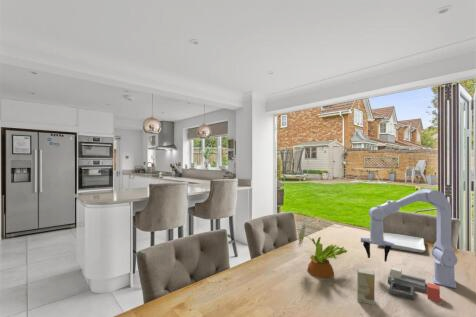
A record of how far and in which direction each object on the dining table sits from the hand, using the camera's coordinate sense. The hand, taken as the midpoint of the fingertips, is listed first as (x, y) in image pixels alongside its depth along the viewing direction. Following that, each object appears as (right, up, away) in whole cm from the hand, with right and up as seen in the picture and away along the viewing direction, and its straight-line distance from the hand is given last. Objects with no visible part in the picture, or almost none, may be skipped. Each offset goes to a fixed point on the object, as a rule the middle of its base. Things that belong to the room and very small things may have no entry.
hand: (377, 259), depth 124 cm
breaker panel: (+10, -8, -7) cm, 15 cm away
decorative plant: (-26, -9, +4) cm, 28 cm away
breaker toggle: (+6, -7, -5) cm, 10 cm away
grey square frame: (+2, -8, -15) cm, 18 cm away
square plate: (+40, -9, +45) cm, 61 cm away
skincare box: (-17, -9, -21) cm, 28 cm away
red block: (+12, -8, -20) cm, 25 cm away
